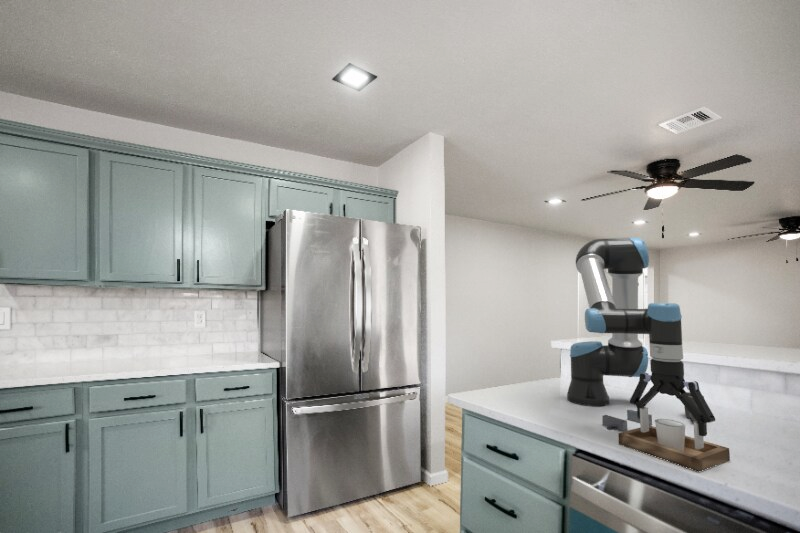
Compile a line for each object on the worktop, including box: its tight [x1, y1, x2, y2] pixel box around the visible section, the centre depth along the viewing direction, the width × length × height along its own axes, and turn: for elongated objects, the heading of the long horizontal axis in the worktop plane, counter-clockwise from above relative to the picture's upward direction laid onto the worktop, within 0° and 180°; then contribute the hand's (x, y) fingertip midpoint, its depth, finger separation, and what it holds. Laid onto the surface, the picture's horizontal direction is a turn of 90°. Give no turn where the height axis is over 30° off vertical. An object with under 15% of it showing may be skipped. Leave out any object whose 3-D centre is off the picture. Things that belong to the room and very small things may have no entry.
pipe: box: [683, 391, 705, 423], centre depth 132 cm, size 6×13×8 cm, turn 150°
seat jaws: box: [601, 409, 653, 432], centre depth 126 cm, size 7×19×3 cm, turn 117°
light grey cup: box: [654, 418, 686, 452], centre depth 105 cm, size 7×7×7 cm
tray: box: [617, 425, 731, 472], centre depth 104 cm, size 20×15×3 cm
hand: (670, 439), depth 104 cm, fingers open, 13 cm apart
